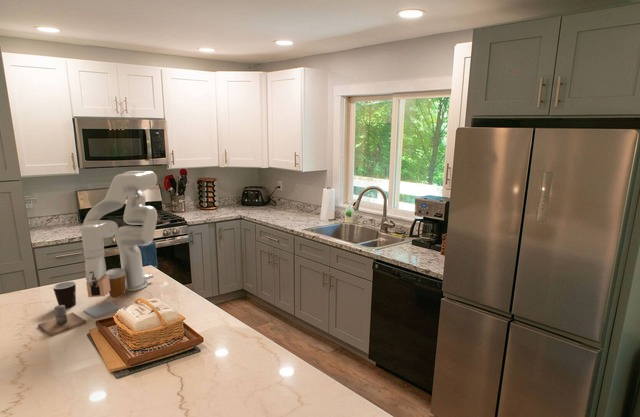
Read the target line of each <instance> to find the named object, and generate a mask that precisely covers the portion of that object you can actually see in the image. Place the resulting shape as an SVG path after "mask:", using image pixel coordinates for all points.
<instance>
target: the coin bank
mask: <svg viewBox="0 0 640 417" xmlns="http://www.w3.org/2000/svg"><path fill="white" fill-rule="evenodd" d="M93 280H96V278H93ZM93 282H94V283H95V284H96V281H93ZM85 284H86V290H87V297H88V298H99V297H100V298H101V297H105V296H106V295H108V293H109V291H110V290H111V289H110V282H109V275H108V276H103V277H101V278H100V279H99V280H98V286H99V289H100V295H98V296H92V294H91V288H90V285H89V283H88V281H87V280H86V282H85Z"/></svg>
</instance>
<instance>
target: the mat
mask: <svg viewBox="0 0 640 417" xmlns="http://www.w3.org/2000/svg"><path fill="white" fill-rule="evenodd" d="M120 308H121V309H122V307H120V306H119V305H117V304H115V303H113V302H111V301H107V302H106V301H105V302H103V303H101V304H97V305H95V306H92V307H89V308H86V309H84V310H83V312H84V313H85V314H87V315H88V316H90V317H92V318H94V319H98V318H101V317H103V316H107V315H109V314H111V313H114V312H116V311H119V310H118V309H120ZM121 309H120V310H121Z"/></svg>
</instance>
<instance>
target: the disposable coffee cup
mask: <svg viewBox="0 0 640 417" xmlns="http://www.w3.org/2000/svg"><path fill="white" fill-rule="evenodd" d="M125 274H126V271H125V270H124V269H122V268H112V269H108V270H106V275H105V276H108V275H109V282H110V289H111V290H110V291H109V292H108V293H109V295H110V296H109V297H110V298H119V297H123V296H124V295H126V293H125V292H126V291H125Z"/></svg>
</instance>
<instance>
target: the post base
mask: <svg viewBox="0 0 640 417" xmlns="http://www.w3.org/2000/svg"><path fill="white" fill-rule="evenodd" d="M66 310H67V309H65V305H56V306H55V307H54V314H55V318H52V319H50V320H47V321H44V322H41V323H39V324H37V326H38V328H39V329H41V330H42V331H43V332H44V333H46V334H47V335H48V336H50V337H53V336H56V335H59V334H62V333H63V332H67V331H70V330H72V329H74V328H77V327H80V326H83V325H84V324H85V325H86V324H87V320H85V319H83V318H82V317H81V316H79V315H77V314H76V313H74V312H70V313H67V312H66Z"/></svg>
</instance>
